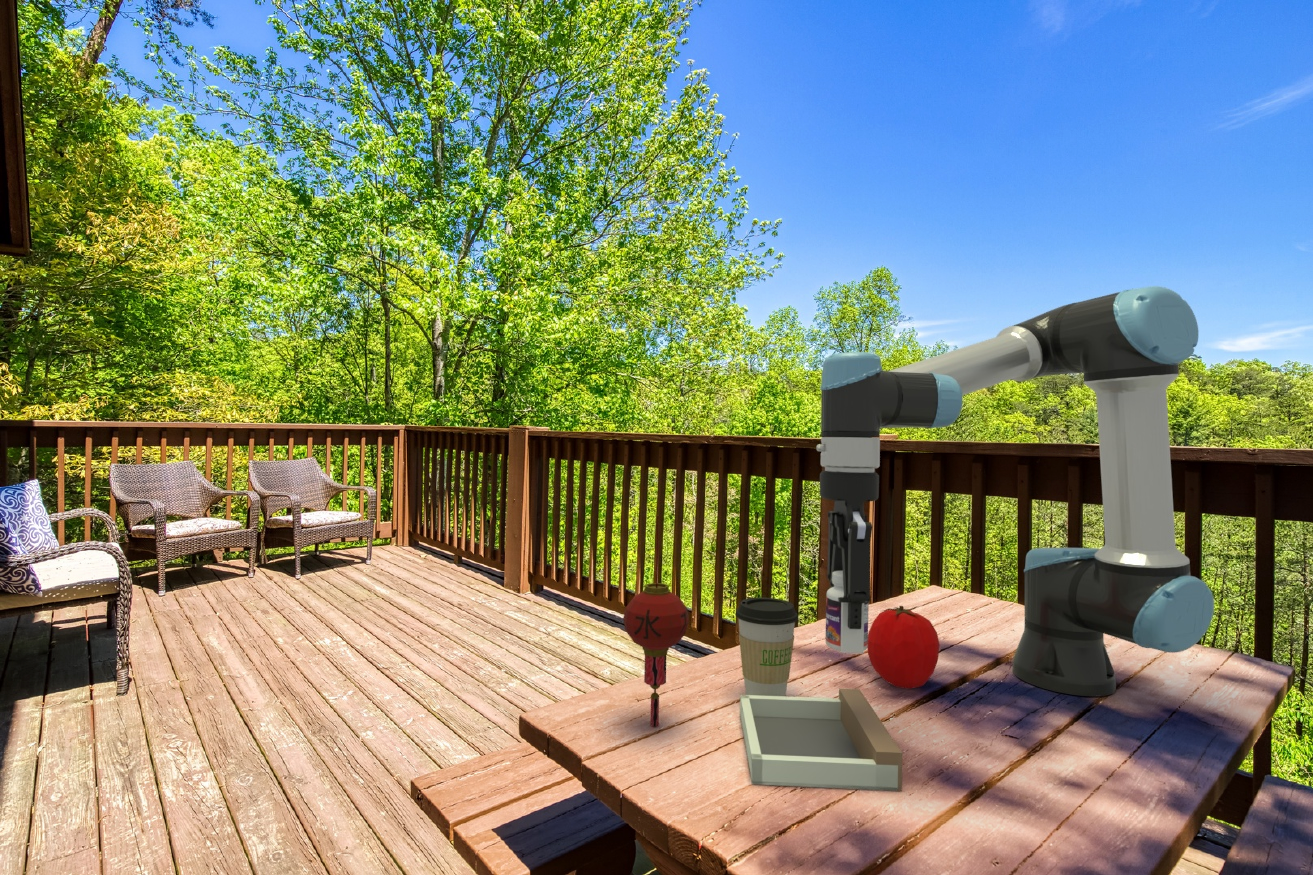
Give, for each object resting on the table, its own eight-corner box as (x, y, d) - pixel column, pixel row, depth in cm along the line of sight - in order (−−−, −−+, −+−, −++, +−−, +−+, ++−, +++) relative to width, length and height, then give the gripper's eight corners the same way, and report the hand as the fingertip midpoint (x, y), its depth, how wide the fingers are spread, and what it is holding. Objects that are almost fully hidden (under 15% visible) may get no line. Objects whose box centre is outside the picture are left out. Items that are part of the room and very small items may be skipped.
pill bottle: (819, 640, 86) (821, 569, 86) (857, 640, 86) (859, 569, 86) (833, 653, 80) (835, 577, 81) (874, 653, 81) (876, 577, 81)
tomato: (868, 694, 102) (869, 613, 102) (864, 668, 114) (865, 595, 114) (946, 703, 99) (947, 619, 99) (933, 675, 111) (934, 600, 111)
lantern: (695, 716, 93) (698, 513, 93) (676, 745, 84) (679, 521, 84) (635, 706, 96) (638, 510, 96) (611, 733, 87) (614, 517, 87)
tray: (859, 719, 93) (859, 689, 93) (901, 791, 74) (902, 752, 74) (739, 714, 94) (740, 684, 94) (751, 784, 75) (752, 746, 75)
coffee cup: (797, 714, 94) (799, 614, 94) (731, 707, 96) (733, 609, 96) (796, 689, 104) (797, 598, 104) (736, 683, 106) (737, 594, 106)
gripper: (807, 466, 93) (804, 623, 93) (836, 472, 75) (833, 668, 74) (859, 467, 93) (856, 625, 92) (900, 474, 74) (897, 670, 74)
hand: (846, 644), depth 83 cm, fingers closed on pill bottle, 5 cm apart
